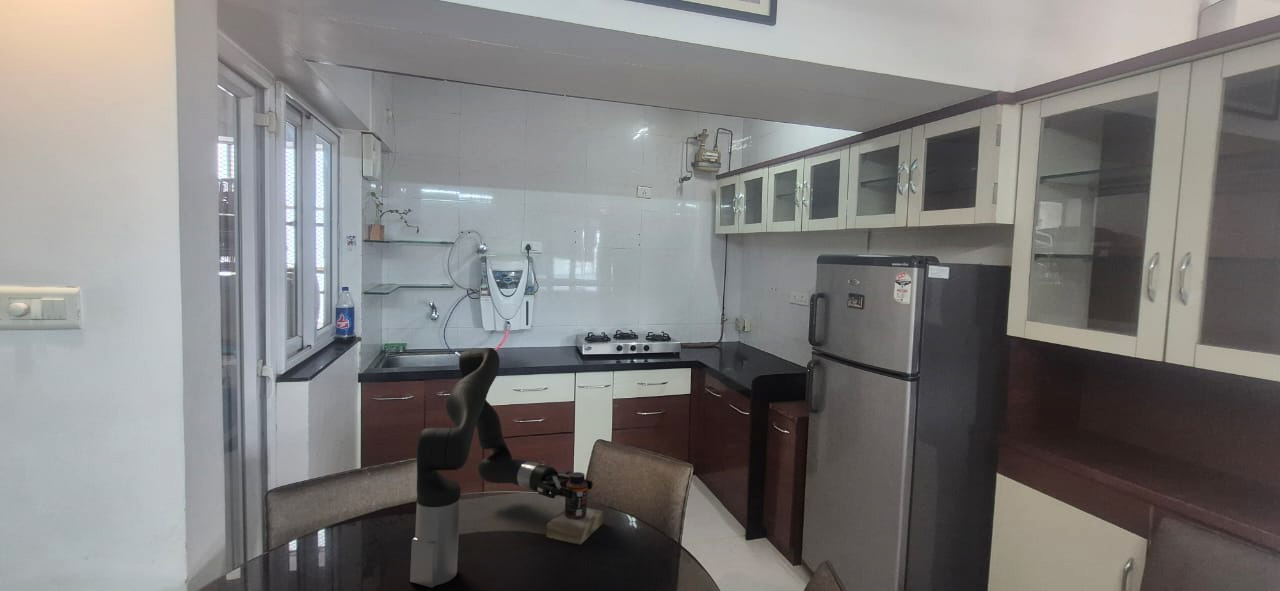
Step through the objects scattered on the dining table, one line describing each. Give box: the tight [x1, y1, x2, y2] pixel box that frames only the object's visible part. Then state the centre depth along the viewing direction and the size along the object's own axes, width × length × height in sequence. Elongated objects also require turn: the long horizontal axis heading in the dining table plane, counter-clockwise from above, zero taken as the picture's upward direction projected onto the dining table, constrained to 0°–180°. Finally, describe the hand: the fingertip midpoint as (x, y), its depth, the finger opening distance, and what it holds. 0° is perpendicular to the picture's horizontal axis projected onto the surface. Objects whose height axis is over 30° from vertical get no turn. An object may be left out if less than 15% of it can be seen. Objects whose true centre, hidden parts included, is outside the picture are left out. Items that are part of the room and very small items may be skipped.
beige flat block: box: [546, 507, 604, 546], centre depth 146 cm, size 14×10×4 cm
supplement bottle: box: [564, 471, 588, 519], centre depth 146 cm, size 6×6×11 cm
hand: (582, 489), depth 145 cm, fingers open, 8 cm apart
